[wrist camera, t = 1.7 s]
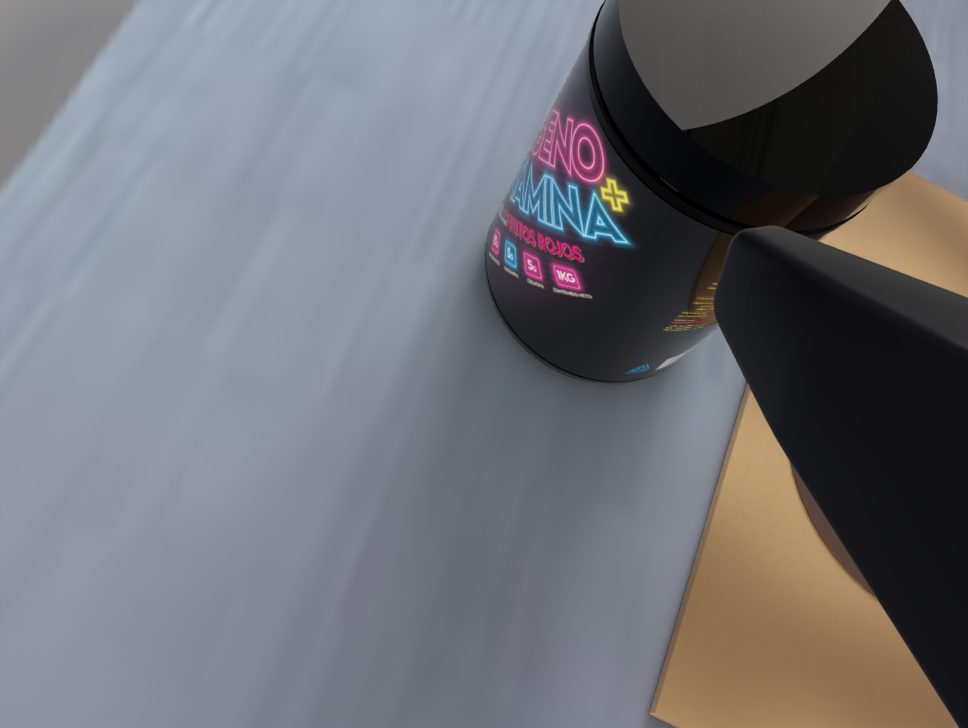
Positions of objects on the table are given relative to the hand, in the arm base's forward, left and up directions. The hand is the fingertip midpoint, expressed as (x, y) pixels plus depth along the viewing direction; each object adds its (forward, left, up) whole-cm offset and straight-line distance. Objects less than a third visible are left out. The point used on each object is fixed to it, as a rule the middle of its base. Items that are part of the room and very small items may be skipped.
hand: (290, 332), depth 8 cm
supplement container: (-1, -13, -15) cm, 20 cm away
